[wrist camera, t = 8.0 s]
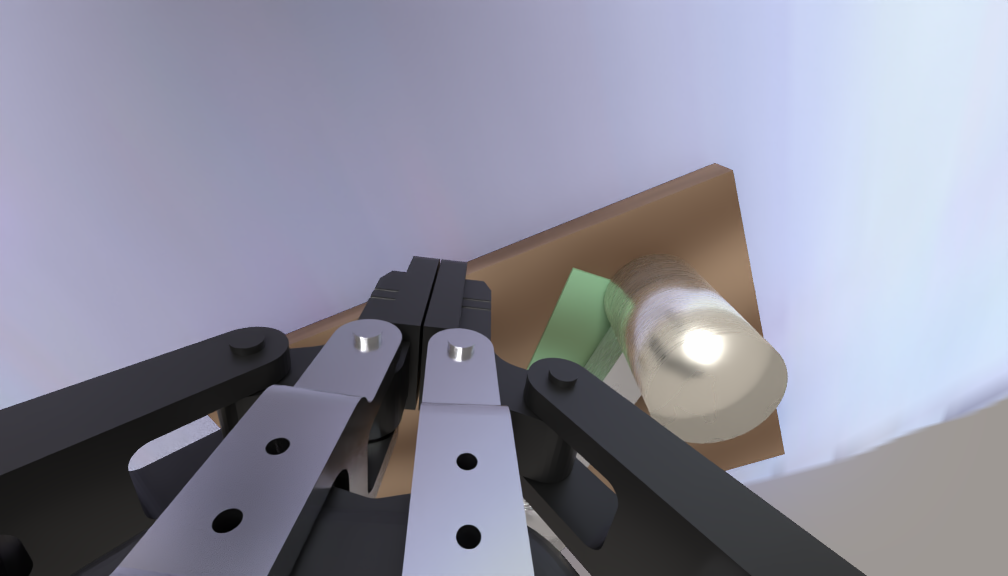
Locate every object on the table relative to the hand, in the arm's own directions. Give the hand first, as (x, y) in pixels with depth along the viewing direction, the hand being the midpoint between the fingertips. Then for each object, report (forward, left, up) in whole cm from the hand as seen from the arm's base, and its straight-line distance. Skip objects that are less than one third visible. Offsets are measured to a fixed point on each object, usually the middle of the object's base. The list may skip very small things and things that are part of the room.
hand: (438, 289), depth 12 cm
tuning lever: (+10, +2, -5) cm, 11 cm away
